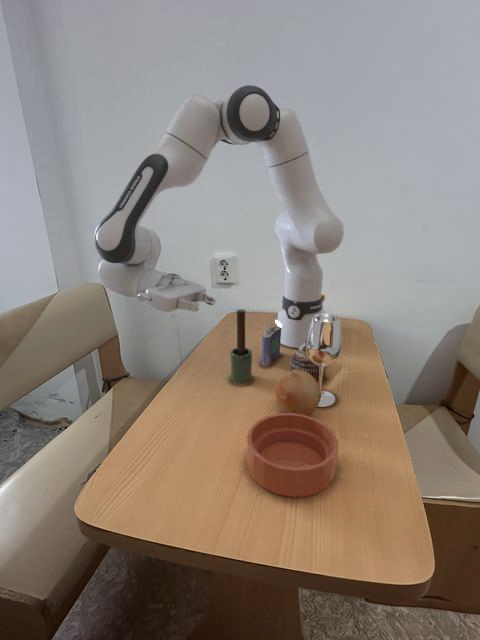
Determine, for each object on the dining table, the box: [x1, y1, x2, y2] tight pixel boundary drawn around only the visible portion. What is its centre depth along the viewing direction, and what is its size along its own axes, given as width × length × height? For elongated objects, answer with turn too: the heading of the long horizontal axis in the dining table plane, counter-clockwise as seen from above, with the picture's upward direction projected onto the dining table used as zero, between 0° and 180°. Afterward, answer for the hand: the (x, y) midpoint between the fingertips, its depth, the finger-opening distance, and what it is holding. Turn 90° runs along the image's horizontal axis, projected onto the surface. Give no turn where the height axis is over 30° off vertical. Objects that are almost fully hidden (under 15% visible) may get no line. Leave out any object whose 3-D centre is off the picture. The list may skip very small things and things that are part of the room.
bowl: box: [246, 412, 339, 498], centre depth 65 cm, size 15×15×6 cm
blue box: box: [261, 323, 281, 367], centre depth 103 cm, size 9×3×11 cm, turn 151°
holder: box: [230, 347, 253, 384], centre depth 93 cm, size 5×5×8 cm
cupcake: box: [290, 342, 329, 383], centre depth 94 cm, size 10×10×10 cm
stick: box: [236, 309, 246, 355], centre depth 91 cm, size 2×2×18 cm
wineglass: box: [305, 312, 343, 408], centre depth 83 cm, size 8×8×20 cm
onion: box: [274, 369, 322, 416], centre depth 80 cm, size 10×10×10 cm
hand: (206, 305), depth 91 cm, fingers open, 8 cm apart
